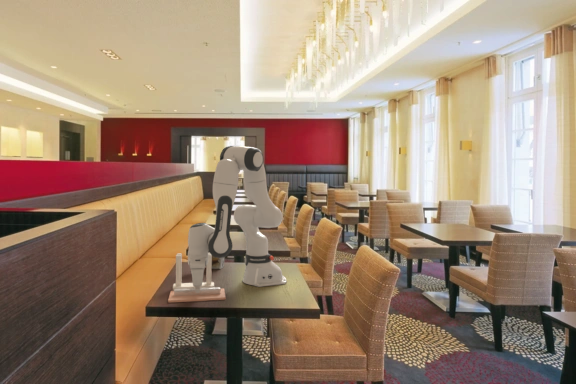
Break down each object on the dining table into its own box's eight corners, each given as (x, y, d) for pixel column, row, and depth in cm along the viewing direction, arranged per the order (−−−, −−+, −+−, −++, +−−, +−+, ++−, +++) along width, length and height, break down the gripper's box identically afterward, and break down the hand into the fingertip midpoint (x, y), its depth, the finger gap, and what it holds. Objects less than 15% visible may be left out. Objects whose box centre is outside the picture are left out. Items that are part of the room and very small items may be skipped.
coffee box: (205, 268, 208) (205, 240, 207) (209, 265, 214) (210, 238, 213) (220, 269, 206) (221, 241, 205) (224, 266, 213) (225, 239, 212)
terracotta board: (224, 290, 171) (224, 288, 171) (225, 299, 159) (225, 297, 159) (170, 293, 166) (170, 290, 166) (168, 302, 154) (168, 300, 154)
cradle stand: (213, 284, 180) (214, 252, 179) (214, 288, 174) (214, 255, 173) (173, 286, 176) (173, 253, 175) (172, 290, 170) (172, 256, 169)
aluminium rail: (220, 292, 166) (220, 286, 166) (220, 293, 164) (220, 288, 163) (174, 294, 161) (174, 289, 161) (174, 296, 159) (174, 290, 159)
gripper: (191, 254, 171) (191, 283, 172) (189, 265, 151) (189, 298, 152) (205, 253, 172) (204, 282, 173) (205, 265, 152) (205, 297, 153)
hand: (197, 290), depth 162 cm, fingers open, 4 cm apart
